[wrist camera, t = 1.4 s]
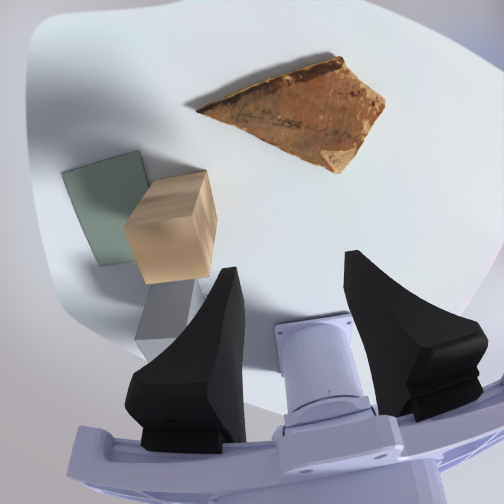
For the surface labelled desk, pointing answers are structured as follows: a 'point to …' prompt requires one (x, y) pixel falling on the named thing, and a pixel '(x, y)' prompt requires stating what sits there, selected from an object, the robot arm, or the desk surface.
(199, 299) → the grey block
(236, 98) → the shard
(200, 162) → the desk surface
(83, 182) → the mat
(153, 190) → the oak block
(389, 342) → the robot arm
